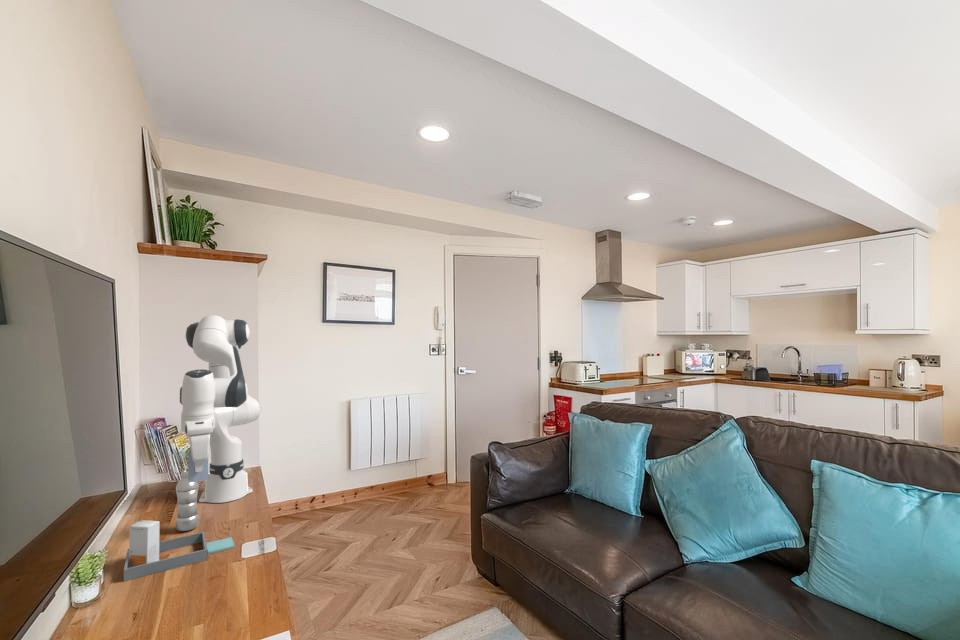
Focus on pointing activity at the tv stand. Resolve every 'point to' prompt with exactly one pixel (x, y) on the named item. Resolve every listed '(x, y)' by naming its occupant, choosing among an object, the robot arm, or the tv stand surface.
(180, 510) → the plastic bottle
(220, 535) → the tv stand surface
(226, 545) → the pad
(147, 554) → the skincare box
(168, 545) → the bin
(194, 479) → the slate box
